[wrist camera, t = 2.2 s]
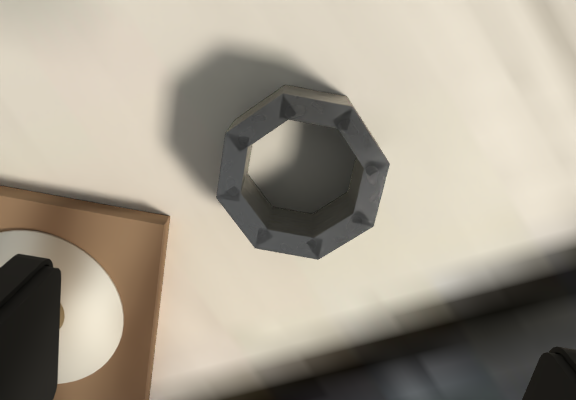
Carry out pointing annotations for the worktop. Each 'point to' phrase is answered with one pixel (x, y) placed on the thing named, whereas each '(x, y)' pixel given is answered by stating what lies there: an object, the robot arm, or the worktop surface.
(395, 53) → the worktop surface
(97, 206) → the post block
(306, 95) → the ring
